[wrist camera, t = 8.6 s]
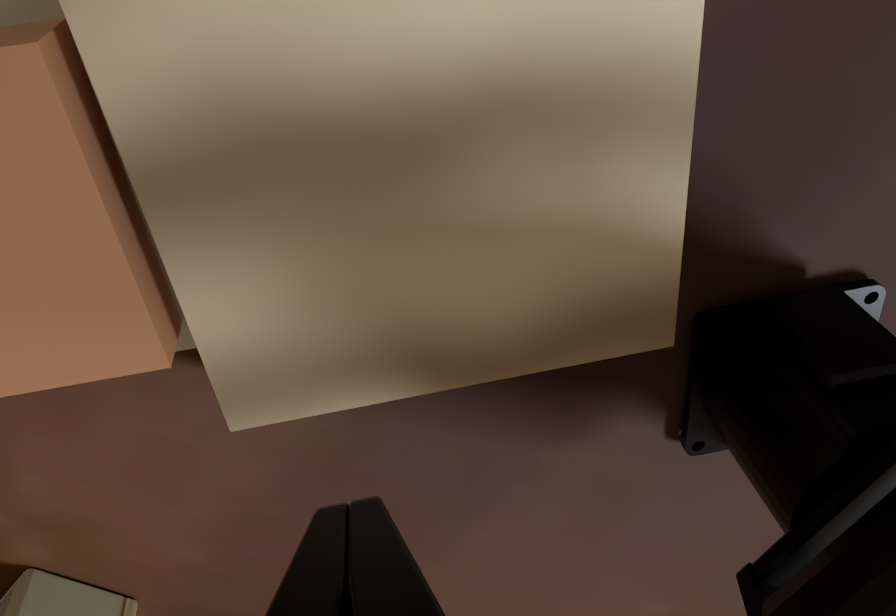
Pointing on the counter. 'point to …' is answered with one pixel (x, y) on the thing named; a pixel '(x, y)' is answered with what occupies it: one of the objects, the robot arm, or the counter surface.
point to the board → (403, 184)
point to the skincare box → (61, 598)
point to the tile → (69, 229)
